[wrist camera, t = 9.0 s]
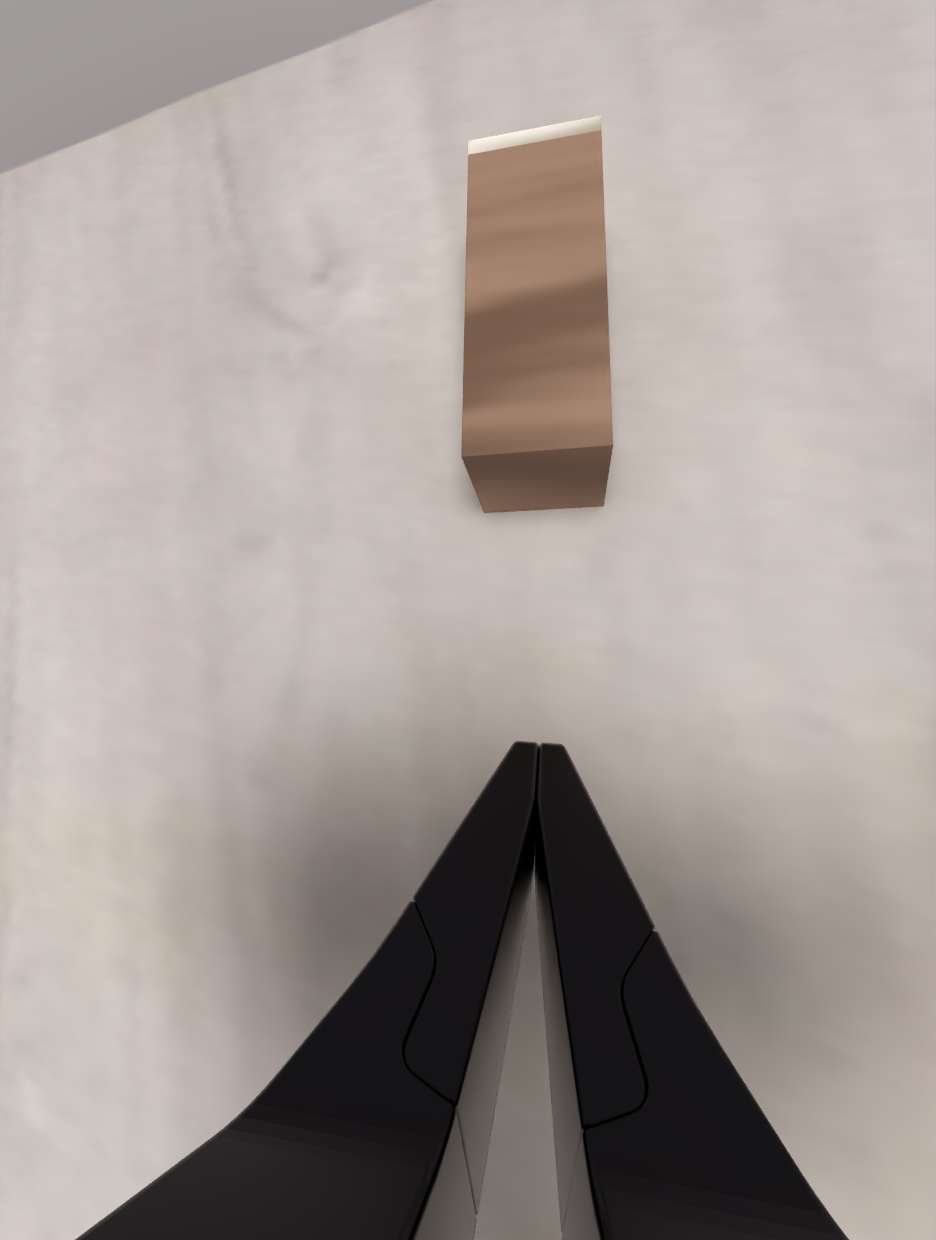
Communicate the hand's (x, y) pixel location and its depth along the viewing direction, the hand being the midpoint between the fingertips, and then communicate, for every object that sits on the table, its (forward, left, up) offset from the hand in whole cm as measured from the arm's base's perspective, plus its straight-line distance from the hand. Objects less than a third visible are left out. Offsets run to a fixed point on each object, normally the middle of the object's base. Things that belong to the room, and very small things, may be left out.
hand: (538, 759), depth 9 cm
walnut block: (+7, +5, -7) cm, 11 cm away
